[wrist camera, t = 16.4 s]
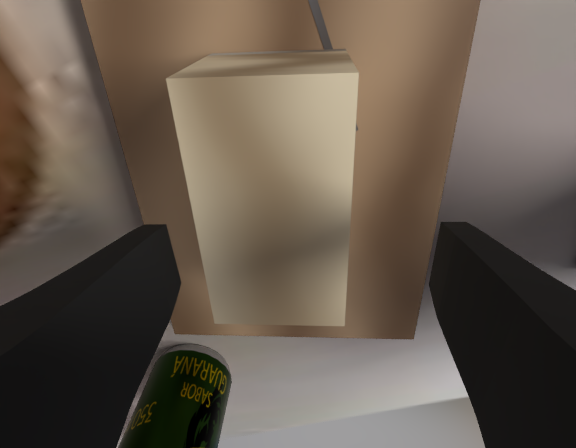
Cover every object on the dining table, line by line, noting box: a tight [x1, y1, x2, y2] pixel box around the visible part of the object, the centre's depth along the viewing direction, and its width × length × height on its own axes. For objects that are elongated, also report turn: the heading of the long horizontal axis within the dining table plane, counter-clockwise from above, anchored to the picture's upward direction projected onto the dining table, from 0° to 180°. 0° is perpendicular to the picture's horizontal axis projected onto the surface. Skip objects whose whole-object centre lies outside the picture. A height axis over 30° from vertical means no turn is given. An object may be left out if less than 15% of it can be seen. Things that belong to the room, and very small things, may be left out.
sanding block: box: [166, 49, 359, 326], centre depth 14 cm, size 5×9×5 cm, turn 2°
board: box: [81, 0, 480, 339], centre depth 17 cm, size 14×20×2 cm
